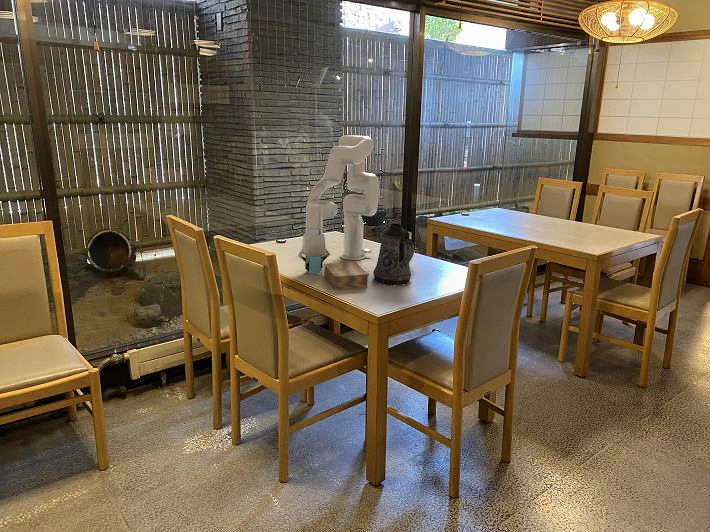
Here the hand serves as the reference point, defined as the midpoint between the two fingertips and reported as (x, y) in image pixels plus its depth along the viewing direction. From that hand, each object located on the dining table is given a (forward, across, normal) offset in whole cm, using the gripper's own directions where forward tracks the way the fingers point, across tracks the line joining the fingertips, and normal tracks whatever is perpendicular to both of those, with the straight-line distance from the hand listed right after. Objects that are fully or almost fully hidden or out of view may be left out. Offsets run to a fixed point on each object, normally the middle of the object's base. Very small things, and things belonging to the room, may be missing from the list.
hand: (313, 270), depth 241 cm
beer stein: (+1, -32, +19) cm, 37 cm away
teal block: (+1, 0, 0) cm, 1 cm away
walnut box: (+1, -10, +17) cm, 20 cm away
